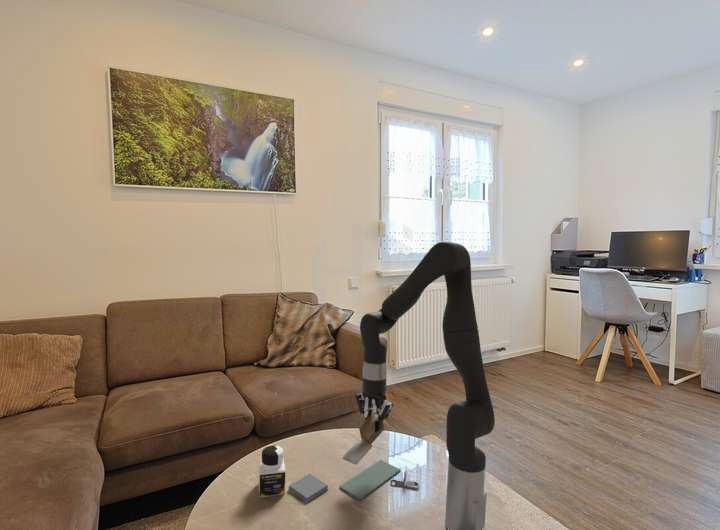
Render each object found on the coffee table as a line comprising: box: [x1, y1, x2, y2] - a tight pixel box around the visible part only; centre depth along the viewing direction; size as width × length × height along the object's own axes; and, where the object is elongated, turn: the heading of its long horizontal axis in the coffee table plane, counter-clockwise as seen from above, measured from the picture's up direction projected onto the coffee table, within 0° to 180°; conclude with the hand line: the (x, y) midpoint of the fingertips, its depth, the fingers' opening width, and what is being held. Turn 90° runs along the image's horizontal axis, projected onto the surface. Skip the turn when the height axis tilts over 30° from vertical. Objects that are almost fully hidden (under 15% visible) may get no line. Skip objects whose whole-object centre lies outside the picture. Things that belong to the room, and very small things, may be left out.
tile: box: [288, 473, 329, 503], centre depth 114 cm, size 8×2×8 cm
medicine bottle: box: [258, 445, 287, 499], centre depth 114 cm, size 7×7×12 cm
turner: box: [342, 411, 385, 466], centre depth 120 cm, size 5×16×6 cm, turn 141°
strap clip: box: [390, 470, 420, 491], centre depth 119 cm, size 8×3×4 cm, turn 80°
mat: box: [339, 459, 401, 501], centre depth 121 cm, size 8×20×1 cm, turn 139°
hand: (373, 429), depth 123 cm, fingers closed on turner, 3 cm apart
